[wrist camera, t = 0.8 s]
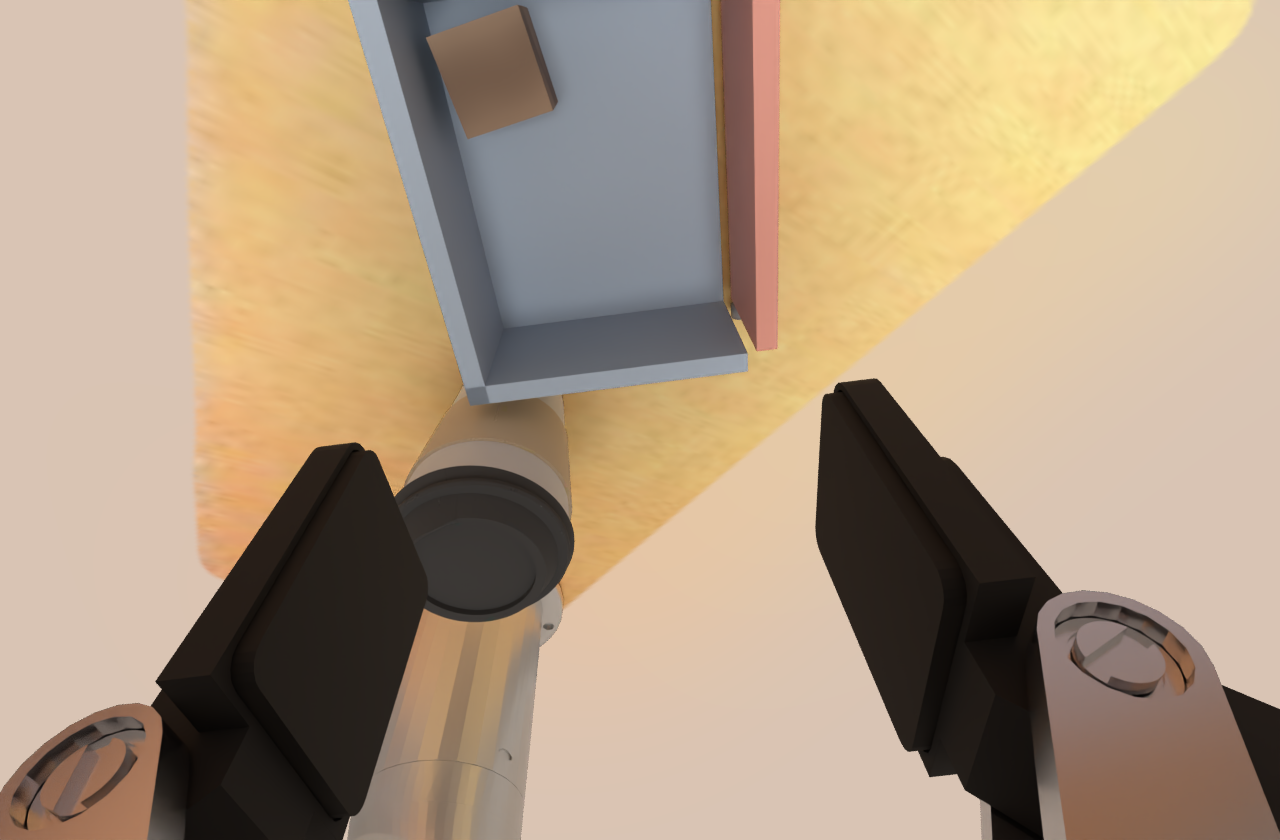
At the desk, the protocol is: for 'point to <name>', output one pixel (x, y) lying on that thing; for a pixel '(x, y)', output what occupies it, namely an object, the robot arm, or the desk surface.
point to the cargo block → (494, 71)
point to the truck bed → (567, 197)
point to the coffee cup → (491, 507)
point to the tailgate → (753, 161)
